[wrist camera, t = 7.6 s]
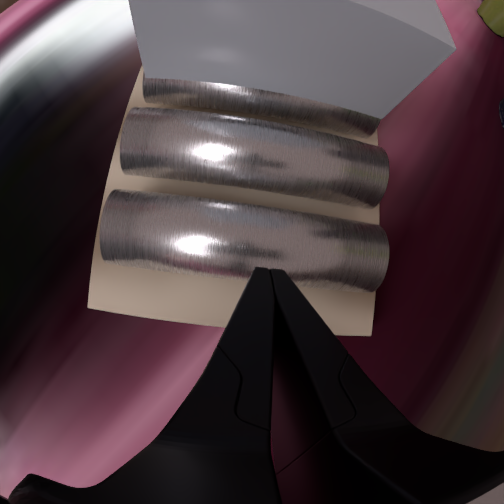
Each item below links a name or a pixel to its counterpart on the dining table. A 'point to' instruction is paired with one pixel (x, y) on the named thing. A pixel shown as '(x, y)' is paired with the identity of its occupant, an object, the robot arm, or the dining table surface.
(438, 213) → the dining table surface
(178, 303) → the track board
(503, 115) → the storage jar
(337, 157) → the rollers
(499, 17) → the plant pot
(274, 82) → the slab
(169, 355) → the dining table surface
